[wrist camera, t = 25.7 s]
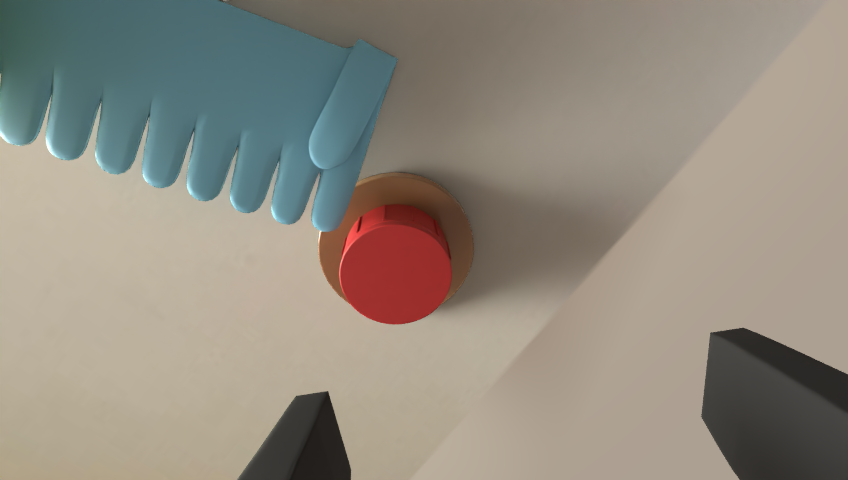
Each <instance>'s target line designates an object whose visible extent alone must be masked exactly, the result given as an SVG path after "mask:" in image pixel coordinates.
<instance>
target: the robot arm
mask: <svg viewBox="0 0 848 480" xmlns="http://www.w3.org/2000/svg"><path fill="white" fill-rule="evenodd" d="M702 419H703V421H704V422H705V424H706V426H707V428H708V429H709V431H710V433H711V435H712V436H713V438H714V440H715V441H716V443H717V445H718V447H719V448H720V450H721V452H722V453H723V455H724V457H725V458H726V460H727V461H728V463H729V465H730V466H731V468H732V470H733V471H734V472H735V474H736V475H737V476H738V478H739V479H740V480H848V374H846V373H844V372H841V371H839V370H837V369H835V368H833V367H830V366H828V365H826V364H824V363H822V362H820V361H817V360H815V359H813V358H811V357H809V356H807V355H805V354H803V353H800V352H798V351H796V350H794V349H792V348H789V347H787V346H785V345H783V344H781V343H778V342H776V341H774V340H772V339H769V338H767V337H765V336H762V335H760V334H758V333H755V332H752V331H750V330H748V329H745V328H739V329H732V330H726V331H720V332H713V333H710V343H709V352H708V360H707V370H706V379H705V389H704V397H703V407H702ZM237 480H351V468H350V465H349V461H348V458H347V454H346V451H345V447H344V444H343V441H342V437H341V434H340V430H339V427H338V424H337V420H336V417H335V413H334V410H333V407H332V403H331V400H330V396H329V393H328V391H326V392H320V393H313V394H307V395H300V396H296V397H295V398H294V400H293V401H292V402H291V404H290V405H289V407H288V408H287V409H286V411H285V412H284V414H283V415H282V416H281V418H280V419H279V421H278V422H277V424H276V425H275V427H274V428H273V430H272V431H271V432H270V434H269V435H268V437H267V438H266V440H265V441H264V443H263V444H262V445H261V447H260V448H259V450H258V451H257V453H256V454H255V455H254V457H253V458H252V460H251V461H250V463H249V464H248V465H247V467H246V468H245V469H244V471H243V472H242V474H241V475H240V476H239V478H238V479H237Z"/></svg>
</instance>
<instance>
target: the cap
mask: <svg viewBox="0 0 848 480" xmlns="http://www.w3.org/2000/svg"><path fill="white" fill-rule="evenodd" d="M341 256H342V260H341V264H340V271H339V277H340V284H341V288H342V291H343V293H344V295H345V297H346V299H347V300H348V301H349V303H350V304H351V305H352V306H353V307H354V308H355V309H356V310H357V311H358V312H359V313H361V314H362V315H364V316H366V317H367V318H369V319H372V320H374V321H377V322H381V323H386V324H405V323H410V322H414V321H417V320H420V319H422V318H424V317H426V316H427V315H429V314H430V313H432V312H433V311H434V310H435V309H437V308H438V307H439V305H440V304H441V303H442V302H443V300H444V299H445V297H446V296H447V294H448V292H449V289H450V286H451V281H452V267H451V262H450V260H452V259H451V254H450V250H449V246H448V242H446V240H445V236H444V234H443V232H442V230H441V228H440V227H439V225H438V224H437V221H436V219H435V220H434V219H433V218H432V217H430V216H429V215H428V214H426V213H425V212H423V211H421V210H419V209H417V208H414V206H407V205H400V204H391V205H386V204H384V205H383V206H381V207H377V208H375V209H373V210H371V211H369V212H367V213H366V214H364V215H363V216H362V217H361V216H360V217H359V219H358V220H357V221H356V223H355V224H354V225H353V227H352V228H351V230H350V232H349V234H348V237H347V238H345V241H344V245H343V249H342V253H341Z"/></svg>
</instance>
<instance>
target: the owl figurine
mask: <svg viewBox="0 0 848 480" xmlns="http://www.w3.org/2000/svg"><path fill="white" fill-rule="evenodd" d="M397 60H398V59H397V58H395V57H393V56H391V55H389V54H387V53H385V52H383V51H381V50H379V49H377V48H375V47H373V46H372V45H370V44H368V43H367V42H365V41H363V40H361V39H358V40H357V42H356V44H355V45H354V46H353V47H349V48H343V47H340V46H336V45H334V44H331V43H329V42H326V41H323V40H321V39H318V38H315V37H313V36H310V35H308V34H305V33H302V32H300V31H297V30H295V29H292V28H290V27H287V26H285V25H282V24H279V23H277V22H274V21H271V20H269V19H266V18H263V17H261V16H258V15H255V14H253V13H250V12H247V11H245V10H242V9H240V8H237V7H234V6H232V5H229V4H227V3H224V2H221V1H219V0H0V73H1V83H0V135H1V137H2V138H3V139H4V140H5V141H7V142H9V143H11V144H13V145H19V146H23V145H27V144H30V143H31V142H33V141H34V140H35V139H36V137H37V135H38V134H39V132H40V129H41V126H42V123H43V120H44V117H45V113H46V110H47V106H48V103H49V100H50V97H51V94H52V97H51V104H50V110H49V116H48V122H47V129H46V145H47V147H48V149H49V151H50V152H51V153H52V154H53V155H54V156H55V157H57V158H59V159H62V160H73V159H77V158H78V157H80V156H81V155H82V154H83V152H84V151H85V149H86V147H87V145H88V141H89V138H90V135H91V132H92V128H93V125H94V121H95V118H96V115H97V112H98V109H99V106H100V103H101V101H102V105H101V114H100V122H99V128H98V134H97V141H96V148H95V152H96V160H97V163H98V165H99V166H100V167H101V168H102V169H103V170H104V171H106V172H108V173H110V174H121V173H125V172H126V171H127V170H128V169H130V167H131V165H132V164H133V162H134V160H135V157H136V154H137V151H138V148H139V145H140V141H141V138H142V135H143V131H144V129H145V126H146V123H147V120H148V118H149V116H150V120H149V126H148V133H147V139H146V144H145V149H144V155H143V161H142V174H143V176H144V179H145V180H146V181H147V182H148V183H149V184H150V185H152V186H154V187H157V188H164V187H168V186H170V185H172V184H173V183H174V182H175V180H176V179H177V177H178V175H179V173H180V170H181V167H182V164H183V161H184V158H185V155H186V151H187V148H188V145H189V142H190V139H191V137H192V134H193V132H194V139H193V146H192V151H191V156H190V161H189V167H188V172H187V189H188V191H189V193H190V194H191V195H192V196H193V197H194V198H196V199H198V200H200V201H208V200H212V199H214V198H215V197H216V196H218V194H219V193H220V191H221V189H222V188H223V185H224V182H225V179H226V177H227V174H228V171H229V168H230V165H231V162H232V159H233V157H234V154H235V152H236V149H237V148H238V153H237V159H236V164H235V169H234V173H233V178H232V183H231V188H230V201H231V203H232V206H233V207H234V208H235V209H236V210H238V211H240V212H242V213H251V212H254V211H256V210H257V209H258V208H260V206H261V205H262V203H263V201H264V199H265V197H266V194H267V191H268V189H269V186H270V183H271V180H272V176H273V173H274V171H275V168H276V166H277V163H278V161H279V168H278V174H277V179H276V183H275V188H274V192H273V197H272V203H271V211H272V214H273V217H274V218H275V219H276V220H277V221H278V222H280V223H282V224H292V223H295V222H296V221H298V220H299V219H300V217H301V215H302V214H303V212H304V210H305V207H306V205H307V202H308V199H309V197H310V194H311V191H312V188H313V185H314V183H315V181H316V178H317V176H318V174H319V172H320V179H319V184H318V188H317V192H316V196H315V200H314V204H313V209H312V216H311V221H312V223H313V226H315V227H316V228H317V229H318V230H320V231H323V232H330V231H334V230H336V229H337V228H338V227H339V226H340V224H341V222H342V221H343V218H344V216H345V213H346V211H347V208H348V205H349V203H350V200H351V197H352V194H353V191H354V188H355V186H356V183H357V180H358V177H359V173H360V170H361V167H362V164H363V161H364V158H365V155H366V151H367V148H368V145H369V142H370V139H371V136H372V133H373V130H374V127H375V123H376V120H377V117H378V114H379V111H380V108H381V106H382V103H383V100H384V97H385V94H386V91H387V88H388V85H389V83H390V80H391V77H392V74H393V71H394V69H395V66H396V63H397Z"/></svg>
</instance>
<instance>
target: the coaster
mask: <svg viewBox="0 0 848 480" xmlns="http://www.w3.org/2000/svg"><path fill="white" fill-rule="evenodd" d="M384 204H386V205H391V204H400V205H407V206H414V208H417V209H419V210H421V211H423V212H425V213H426V214H428V215H429V216H430V217H432V218H433V219H434V220H435V219H436V221H437V224H438V225H439V227H440V228H441V230H442V232H443V234H444V236H445V240H446V242H448V246H449V250H450V254H451V259H452V260H450V262H451V267H452V281H451V286H450V289H449V292H448V294H447V296H446V297H445V299H444V300H443V302H442V303H441V304H443V303H444V302H445V301H447V300H448V299H449V298H450V297H451V296H452V295H453V294H454V293H455V292H456V291H457V290H458V289H459V288H460V286H461V285H462V284H463V282H464V280H465V278H466V277H467V275H468V272H469V270H470V267H471V263H472V259H473V251H474V243H473V235H472V230H471V227H470V224H469V221H468V219H467V216H466V214H465V212H464V210H463V208H462V207H461V206H460V204H459V203H458V201H457V200H456V199H455V198H454V197H453V196H452V195H451V194H450V193H449V192H448V191H447V190H445V189H444V188H443V187H442V186H440V185H438V184H437V183H435V182H433V181H431V180H429V179H426V178H424V177H421V176H417V175H414V174H408V173H383V174H378V175H374V176H371V177H368V178H365V179H363V180H361V181H359V182H357V183H356V186H355V188H354V191H353V194H352V197H351V200H350V203H349V205H348V208H347V211H346V213H345V216H344V218H343V221H342V222H341V224H340V226H339V227H338V228H337V229H336V230H334V231H330V232H323V231H320V233H319V240H318V255H319V260H320V264H321V267H322V270H323V273H324V275H325V277H326V279H327V281H328V282H329V284H330V285H331V286H332V288H333V289H334V290H335V291H336V292H337V294H338V295H339V296H340V297H342V298H343V299H344V300H345V301H346V302H348V303H349V301H348V300H347V299H346V297H345V295H344V293H343V291H342V288H341V284H340V277H339V271H340V264H341V260H342V256H341V253H342V249H343V245H344V241H345V238H347V237H348V234H349V232H350V230H351V228H352V227H353V225H354V224H355V223H356V221H357V220H358V219H359V217H360V216H361V217H362V216H363V215H364V214H366V213H367V212H369V211H371V210H373V209H375V208H377V207H381V206H383V205H384ZM349 304H350V303H349ZM441 304H440V305H441ZM440 305H439V306H440Z"/></svg>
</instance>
